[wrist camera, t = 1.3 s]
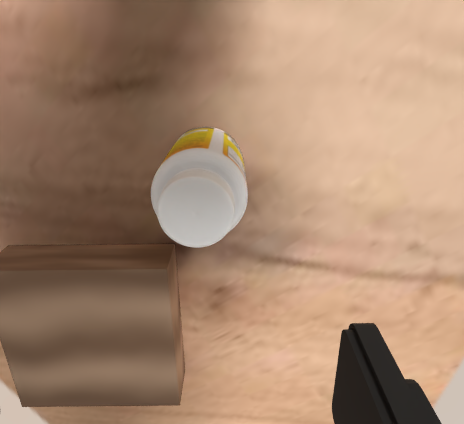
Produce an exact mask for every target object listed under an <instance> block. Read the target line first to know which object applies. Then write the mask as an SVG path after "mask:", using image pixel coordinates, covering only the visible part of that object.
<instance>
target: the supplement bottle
mask: <svg viewBox="0 0 464 424" xmlns="http://www.w3.org/2000/svg"><path fill="white" fill-rule="evenodd" d="M247 200H248V189H247V182H246V175H245V168H244V161H243V156H242V152H241V149H240V147H239V146H238V144H237V142H236V141H235V140H234V139H233V138H232V137H231V136H230V135H229V134H227V133H226V132H224V131H222V130H220V129H217V128H214V127H198V128H194V129H191V130H189V131H187V132H186V133H184V134H183V135H182V136H181V137H180V138H179V139H178V140H177V141H176V142H175V144H174V145H173V147H172V149H171V150H170V151H169V153H168V154H167V156H166V158H165V159H164V161H163V162H162V164H161V165H160V167H159V169H158V170H157V172H156V174H155V176H154V179H153V182H152V186H151V201H152V205H153V209H154V211H155V213H156V215H157V217H158V220H159V223H160V225H161V227H162V229H163V231H164V232H165V233H166V234H167V235H168V236H169V237H170V238H171V239H172V240H174V241H175V242H177V243H179V244H181V245H184V246H187V247H194V248H200V247H206V246H210V245H212V244H215V243H216V242H218V241H220V240H221V239H222V238H223V237H224V236H225V235H226V234H227V233H228V232H229V231H231V230H232V229H233V228H234V227H235V226H236V225H237V224H238V223H239V221H240V220H241V218H242V217H243V215H244V212H245V210H246V206H247Z"/></svg>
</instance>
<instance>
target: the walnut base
mask: <svg viewBox="0 0 464 424" xmlns="http://www.w3.org/2000/svg"><path fill="white" fill-rule="evenodd" d="M0 340H1V343H2V346H3V349H4V352H5V356H6V359H7V362H8V365H9V368H10V371H11V374H12V377H13V380H14V383H15V386H16V389H17V392H18V395H19V398H20V402H21V405H22V407H52V406H158V405H180V401H181V394H182V388H183V381H184V374H185V362H184V350H183V337H182V325H181V313H180V301H179V288H178V276H177V264H176V251H175V244H111V245H22V246H7V247H6V248H5V249H4V250H3V251H1V252H0Z"/></svg>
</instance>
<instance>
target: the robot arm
mask: <svg viewBox="0 0 464 424" xmlns="http://www.w3.org/2000/svg"><path fill="white" fill-rule="evenodd" d="M332 413H333V419H334V423H335V424H441V422H440V420H439V419H438V417H437V415H436V413H435V411H434V410H433V408H432V406H431V404H430V402H429V401H428V399H427V397H426V395H425V394H424V392H423V390H422V388H421V387H420V386H419V384H418V383H417V382H416V381H415V380H412V379H404V377H403V375H402V373H401V371H400V369H399V368H398V366H397V364H396V362H395V360H394V358H393V356H392V354H391V352H390V350H389V349H388V347H387V345H386V343H385V341H384V339H383V337H382V335H381V333H380V332H379V330H378V328H377V326H376V325H375V324H374V323H352V324H350V326H349V329H348V330H343V331H342V334H341V341H340V349H339V356H338V364H337V371H336V378H335V386H334V393H333V401H332Z"/></svg>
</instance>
